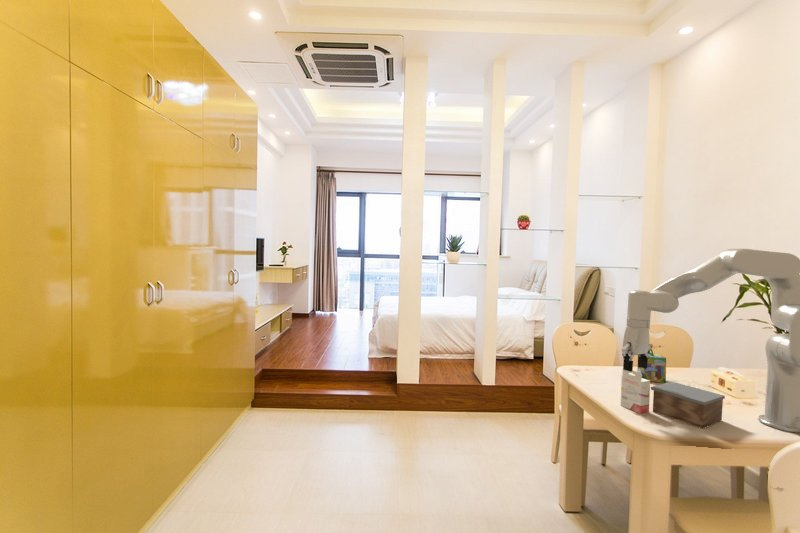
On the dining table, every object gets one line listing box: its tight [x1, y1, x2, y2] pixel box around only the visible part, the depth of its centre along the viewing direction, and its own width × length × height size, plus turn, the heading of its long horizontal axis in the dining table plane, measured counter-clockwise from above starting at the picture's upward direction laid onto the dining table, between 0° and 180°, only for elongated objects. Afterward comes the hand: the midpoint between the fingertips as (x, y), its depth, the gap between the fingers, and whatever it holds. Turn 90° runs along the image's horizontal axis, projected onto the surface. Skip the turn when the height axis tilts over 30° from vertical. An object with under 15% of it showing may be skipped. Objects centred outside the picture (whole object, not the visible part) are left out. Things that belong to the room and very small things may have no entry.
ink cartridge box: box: [620, 368, 651, 414], centre depth 152 cm, size 9×5×15 cm, turn 22°
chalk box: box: [636, 347, 667, 384], centre depth 189 cm, size 9×9×15 cm
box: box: [652, 390, 724, 429], centre depth 146 cm, size 16×14×8 cm
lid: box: [650, 381, 726, 405], centre depth 146 cm, size 17×15×1 cm
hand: (635, 369), depth 152 cm, fingers open, 9 cm apart
